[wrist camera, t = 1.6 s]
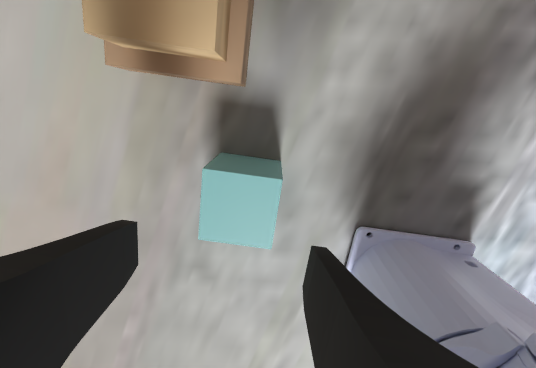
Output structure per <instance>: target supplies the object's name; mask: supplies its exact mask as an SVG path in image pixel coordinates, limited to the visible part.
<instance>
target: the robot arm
mask: <svg viewBox="0 0 536 368" xmlns="http://www.w3.org/2000/svg"><path fill="white" fill-rule="evenodd" d="M369 232H371V234H370V235H369V236H366V234H367V233H369ZM455 245H457V246H456V247H454V246H455ZM475 248H476V247H475V245H474V244H473V243H472V242H469V241H463V240H456V239H449V238H442V237H434V236H427V235H420V234H413V233H405V232H398V231H391V230H384V229H377V228H369V227H359V228H358V229H357V230H356V232H355V236H354V239H353V243H352V247H351V250H350V254H349V258H348V261H347V265H346V267H345V266H344V265H343V264H342V263H341V262H340V261H339V260H338V259H337V258H336V257H335V256H334V255H333V254H332V253H331V252H330V251H329V250H328V249H327V248H325V247H318V246H311V251H310V255H309V260H308V264H307V269H306V274H305V278H304V283H303V301H304V312H305V318H306V323H307V329H308V334H309V340H310V345H311V350H312V356H313V361H314V366H315V368H536V305H535V304H534V303H533V302H532V301H530V300H529V299H528V298H526V297H525V296H524V295H522V294H521V293H520V292H518V291H517V290H516V289H515V288H513V287H512V286H511V285H509V284H508V283H507V282H505V281H504V280H503V279H501V278H500V277H499V276H498V275H496V274H495V273H494V272H492V271H491V270H490V269H488V268H487V267H486V266H484V265H483V264H482V263H481V262H479V261H478V260H477V259H475V258H474V257H473V253H474V251H475ZM137 266H138V238H137V222H134V221H127V220H119V221H115V222H112V223H108V224H105V225H102V226H99V227H96V228H93V229H90V230H87V231H84V232H81V233H78V234H75V235H72V236H69V237H66V238H63V239H60V240H57V241H53V242H50V243H47V244H44V245H40V246H37V247H34V248H31V249H27V250H24V251H20V252H17V253H13V254H9V255H5V256H1V257H0V368H61V366H62V365H63V364H64V362H65V361H66V359H67V358H68V356H69V355H70V353H71V352H72V351H73V349H74V348H75V347H76V346H77V344H78V343H79V342H80V340H81V339H82V338H83V337H84V335H85V334H86V333H87V332H88V331H89V329H90V328H91V327H92V326H93V325H94V323H95V322H96V321H97V320H98V318H99V317H100V316H101V315H102V314H103V312H104V311H105V310H106V309H107V308H108V306H109V305H110V304H111V303H112V302H113V300H114V299H115V298H116V297H117V295H118V294H119V293H120V292H121V290H122V289H123V288H124V287H125V285H126V284H127V282H128V280H129V279H130V277H131V276H132V274H133V272H134V271H135V269H136V267H137Z"/></svg>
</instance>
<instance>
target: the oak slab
mask: <svg viewBox="0 0 536 368" xmlns="http://www.w3.org/2000/svg"><path fill="white" fill-rule="evenodd" d="M82 8H83V21H84V32H86V33H88V34H91V35H93V36H96V37H98V38H101V39H103V40H106V41H108V42H111V43H114V44H116V45H119V46H121V47H126V48H133V49H140V50H147V51H154V52H161V53H168V54H174V55H181V56H188V57H195V58H202V59H209V60H216V61H223V62H226V60H227V47H228V34H229V21H230V8H231V0H82Z"/></svg>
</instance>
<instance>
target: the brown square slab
mask: <svg viewBox="0 0 536 368" xmlns="http://www.w3.org/2000/svg"><path fill="white" fill-rule="evenodd" d="M253 5H254V0H231V8H230V21H229V34H228V47H227V60H226V62H223V61H216V60H209V59H202V58H195V57H188V56H181V55H174V54H168V53H161V52H154V51H147V50H140V49H133V48H126V47H121V46H119V45H116V44H114V43H111V42H108V41H106V40H104V48H105V65H110V66H114V67H118V68H122V69H126V70H130V71H137V72H144V73H151V74H158V75H165V76H172V77H179V78H186V79H193V80H201V81H208V82H215V83H222V84H229V85H236V86H243V87H245V86H246V76H247V66H248V56H249V46H250V36H251V26H252V16H253Z"/></svg>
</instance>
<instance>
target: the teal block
mask: <svg viewBox="0 0 536 368" xmlns="http://www.w3.org/2000/svg"><path fill="white" fill-rule="evenodd" d="M282 181H283V177H282V167H281V161H278V160H271V159H264V158H257V157H249V156H242V155H235V154H228V153H220V154H219V155H218V156H216V157H215V158H214V159H213V160H212V161H211V162H210V163H208V164H207V165H206V166H205V167H204V168H203V170H202V187H201V204H200V221H199V238H198V239H199V240H206V241H213V242H221V243H228V244H235V245H243V246H250V247H257V248H265V249H272V243H273V236H274V230H275V224H276V218H277V212H278V206H279V200H280V193H281V187H282Z"/></svg>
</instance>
